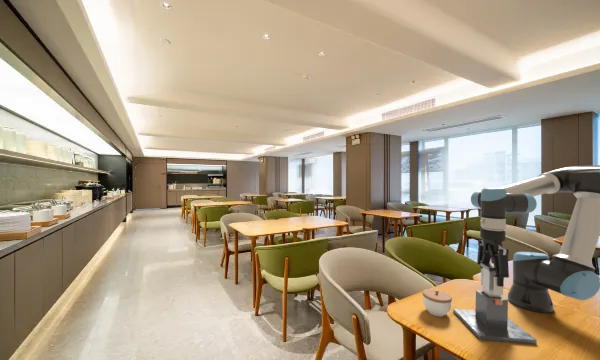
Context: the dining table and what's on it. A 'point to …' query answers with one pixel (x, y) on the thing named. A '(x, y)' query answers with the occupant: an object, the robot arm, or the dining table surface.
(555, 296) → the dining table surface
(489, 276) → the white square column
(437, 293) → the lidded jar
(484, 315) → the stand housing
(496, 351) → the dining table surface
